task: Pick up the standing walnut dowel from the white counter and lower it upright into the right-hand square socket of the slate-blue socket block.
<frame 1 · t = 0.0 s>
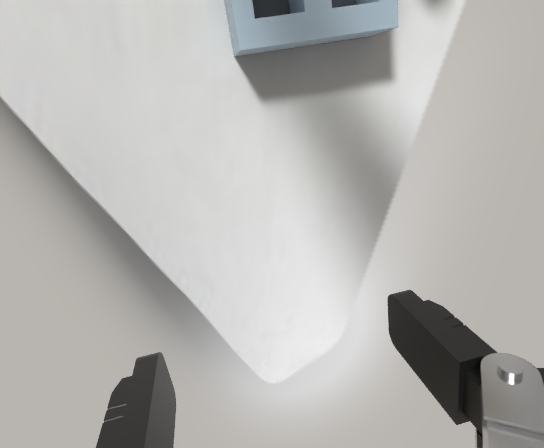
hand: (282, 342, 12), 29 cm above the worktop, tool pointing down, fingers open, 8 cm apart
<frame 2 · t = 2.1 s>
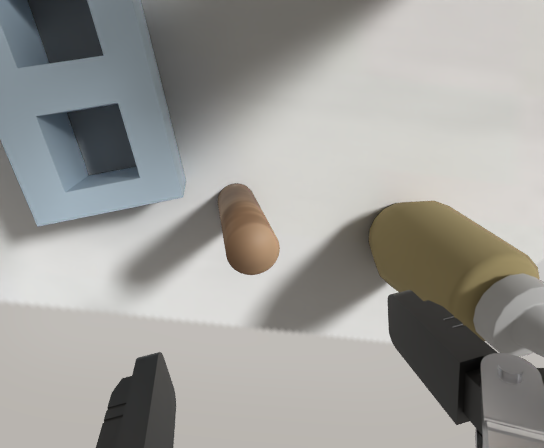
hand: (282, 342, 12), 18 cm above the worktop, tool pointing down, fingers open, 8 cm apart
dowel: (236, 201, 29), on the worktop
socket block: (94, 88, 24), on the worktop
squeeze bottle: (396, 231, 33), on the worktop
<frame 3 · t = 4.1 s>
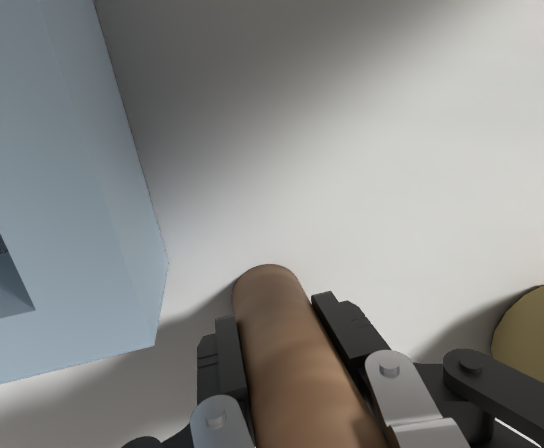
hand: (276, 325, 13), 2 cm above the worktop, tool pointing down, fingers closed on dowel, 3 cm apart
dowel: (266, 296, 15), on the worktop, touching gripper
squeeze bottle: (533, 326, 19), on the worktop
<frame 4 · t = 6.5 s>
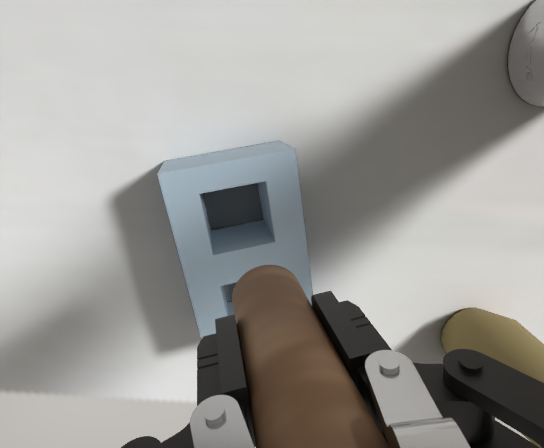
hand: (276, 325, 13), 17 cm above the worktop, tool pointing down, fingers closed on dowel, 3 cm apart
dowel: (266, 296, 15), point 15 cm above the worktop, touching gripper
socket block: (240, 238, 30), on the worktop
squeeze bottle: (462, 328, 39), on the worktop
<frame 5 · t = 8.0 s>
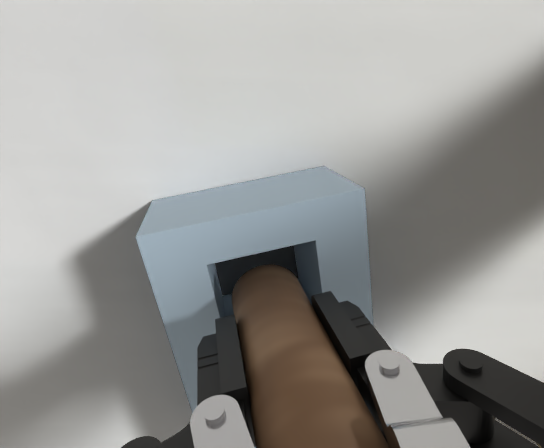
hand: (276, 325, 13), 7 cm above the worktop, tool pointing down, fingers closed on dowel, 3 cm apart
dowel: (266, 296, 15), point 5 cm above the worktop, touching gripper
socket block: (264, 304, 21), on the worktop
when the fingers open (6 cm above the worktop, at t = 8.9 s): dowel drops 3 cm, resting in socket block.
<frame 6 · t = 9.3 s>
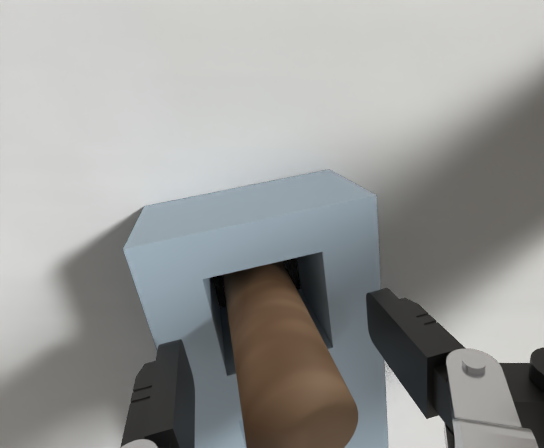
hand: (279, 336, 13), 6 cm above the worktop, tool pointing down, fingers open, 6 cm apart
dowel: (250, 262, 18), resting in socket block
socket block: (264, 317, 20), on the worktop
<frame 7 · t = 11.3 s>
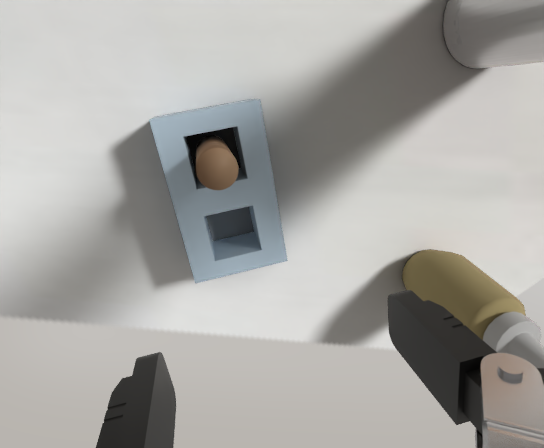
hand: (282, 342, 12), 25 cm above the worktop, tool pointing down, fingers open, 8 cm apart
dowel: (211, 150, 35), resting in socket block
socket block: (221, 184, 36), on the worktop
squeeze bottle: (421, 269, 45), on the worktop
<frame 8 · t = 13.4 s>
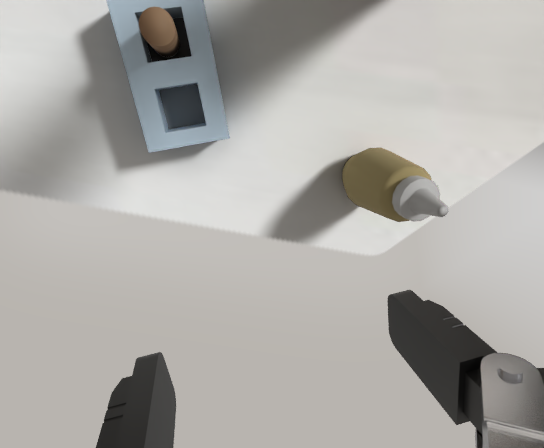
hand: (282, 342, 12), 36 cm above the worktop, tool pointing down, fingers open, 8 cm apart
dowel: (166, 42, 40), resting in socket block
socket block: (175, 75, 41), on the worktop
squeeze bottle: (360, 172, 50), on the worktop
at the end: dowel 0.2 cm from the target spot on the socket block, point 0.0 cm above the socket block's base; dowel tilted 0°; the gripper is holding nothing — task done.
